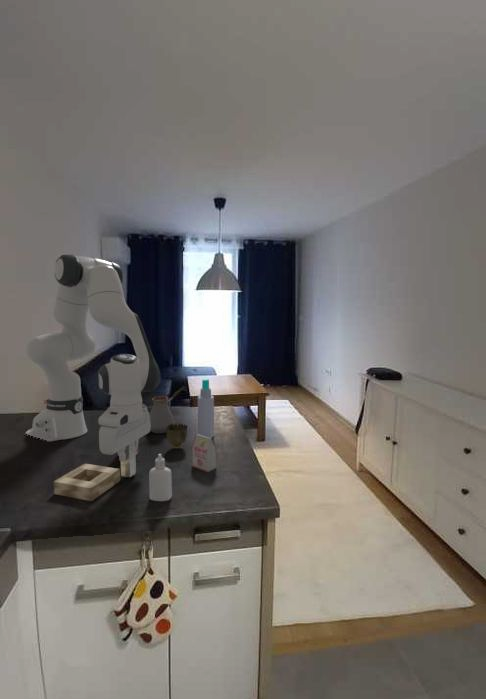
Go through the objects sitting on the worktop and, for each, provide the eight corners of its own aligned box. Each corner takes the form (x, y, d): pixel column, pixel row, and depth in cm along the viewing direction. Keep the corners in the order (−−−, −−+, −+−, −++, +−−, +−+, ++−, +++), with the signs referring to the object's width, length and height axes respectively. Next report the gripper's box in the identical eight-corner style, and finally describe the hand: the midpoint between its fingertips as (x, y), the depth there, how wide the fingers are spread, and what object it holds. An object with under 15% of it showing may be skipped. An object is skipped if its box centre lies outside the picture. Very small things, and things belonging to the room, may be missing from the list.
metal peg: (121, 475, 112) (120, 442, 110) (127, 471, 115) (126, 439, 113) (130, 477, 111) (129, 443, 110) (136, 472, 114) (135, 440, 112)
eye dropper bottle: (159, 491, 104) (158, 449, 102) (174, 497, 101) (173, 453, 99) (147, 498, 100) (145, 454, 99) (162, 505, 97) (161, 459, 96)
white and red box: (200, 462, 123) (199, 432, 122) (215, 468, 119) (215, 437, 118) (191, 466, 120) (191, 435, 119) (207, 472, 116) (207, 440, 115)
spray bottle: (206, 440, 142) (206, 382, 139) (194, 437, 146) (194, 380, 143) (217, 436, 147) (217, 379, 144) (205, 432, 150) (205, 377, 148)
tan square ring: (54, 493, 103) (53, 481, 102) (85, 474, 114) (84, 463, 113) (91, 501, 99) (91, 488, 98) (120, 480, 110) (119, 469, 110)
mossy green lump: (183, 453, 130) (182, 430, 129) (162, 451, 132) (162, 428, 131) (190, 445, 137) (190, 423, 136) (171, 443, 139) (170, 422, 138)
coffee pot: (161, 436, 146) (161, 398, 144) (139, 431, 151) (138, 394, 149) (196, 421, 164) (195, 387, 162) (175, 417, 170) (174, 384, 168)
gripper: (137, 401, 121) (138, 443, 123) (93, 420, 102) (95, 470, 104) (155, 403, 119) (156, 446, 121) (114, 423, 100) (115, 473, 102)
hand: (128, 457), depth 112 cm, fingers closed on metal peg, 3 cm apart
